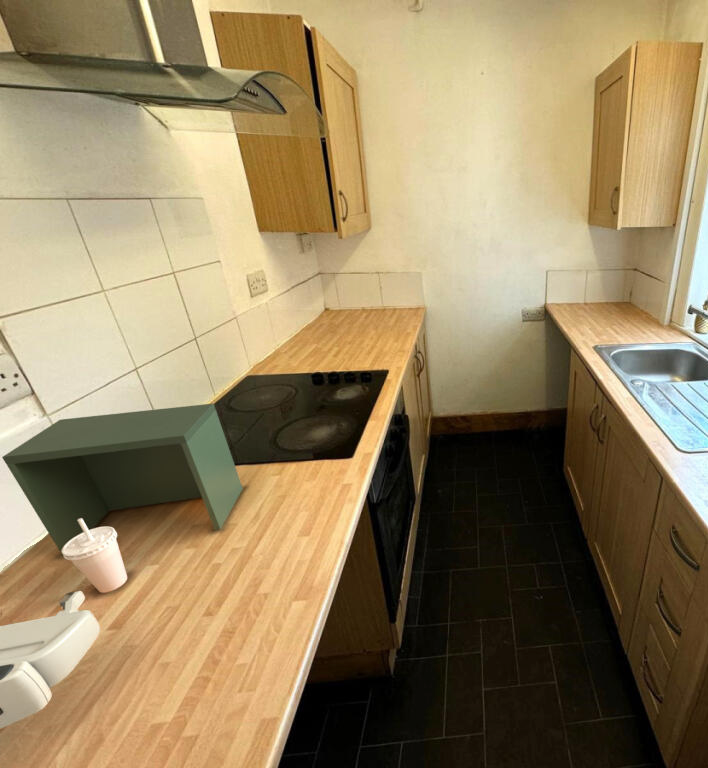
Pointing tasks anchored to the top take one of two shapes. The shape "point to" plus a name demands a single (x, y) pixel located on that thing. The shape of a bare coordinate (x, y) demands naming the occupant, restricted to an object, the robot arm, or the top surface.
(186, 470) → the cupboard
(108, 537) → the smoothie
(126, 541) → the top surface
